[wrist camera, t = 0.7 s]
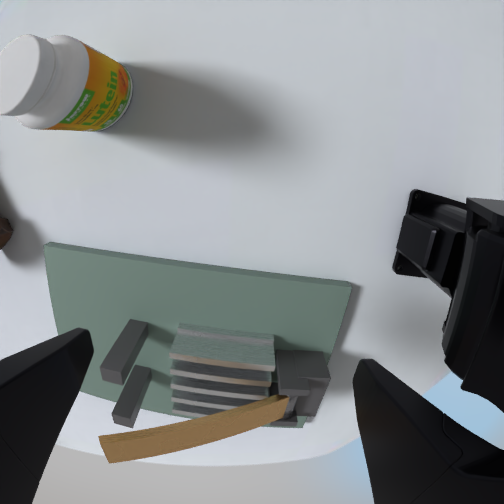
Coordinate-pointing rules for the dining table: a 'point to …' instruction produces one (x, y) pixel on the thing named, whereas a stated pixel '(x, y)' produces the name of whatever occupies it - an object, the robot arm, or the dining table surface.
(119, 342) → the lug fork
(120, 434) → the brown long flat bar
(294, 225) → the dining table surface
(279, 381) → the block
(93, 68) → the supplement bottle
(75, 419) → the dining table surface
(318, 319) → the board
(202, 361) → the heatsink
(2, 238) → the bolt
